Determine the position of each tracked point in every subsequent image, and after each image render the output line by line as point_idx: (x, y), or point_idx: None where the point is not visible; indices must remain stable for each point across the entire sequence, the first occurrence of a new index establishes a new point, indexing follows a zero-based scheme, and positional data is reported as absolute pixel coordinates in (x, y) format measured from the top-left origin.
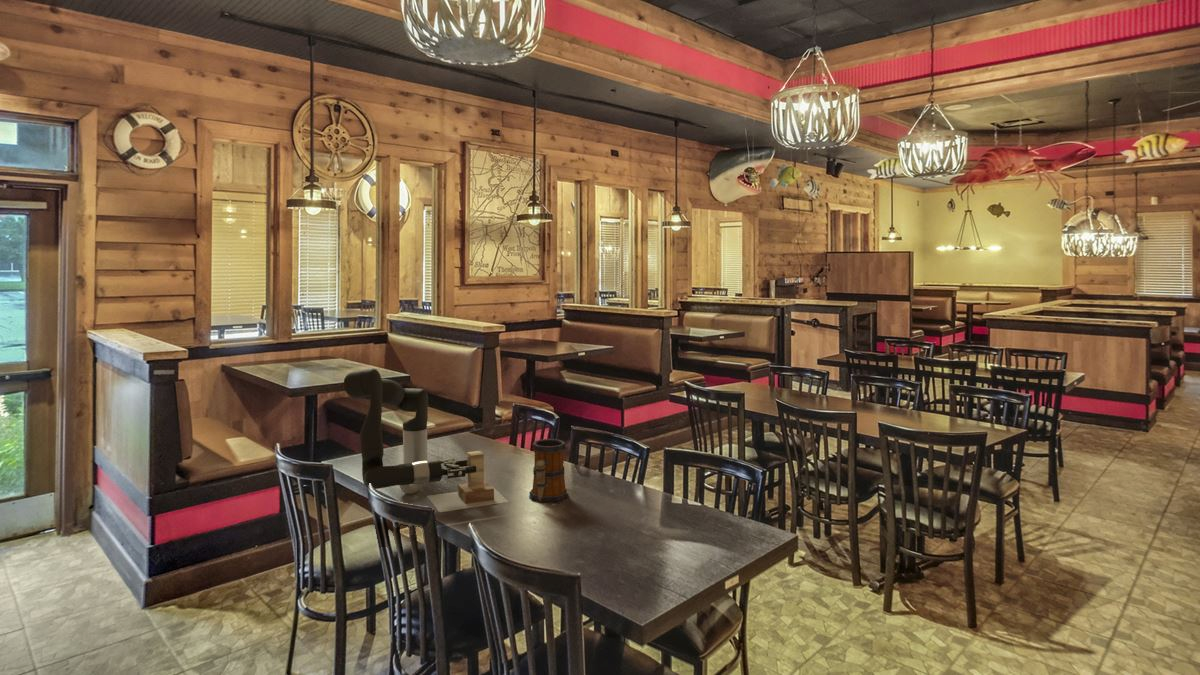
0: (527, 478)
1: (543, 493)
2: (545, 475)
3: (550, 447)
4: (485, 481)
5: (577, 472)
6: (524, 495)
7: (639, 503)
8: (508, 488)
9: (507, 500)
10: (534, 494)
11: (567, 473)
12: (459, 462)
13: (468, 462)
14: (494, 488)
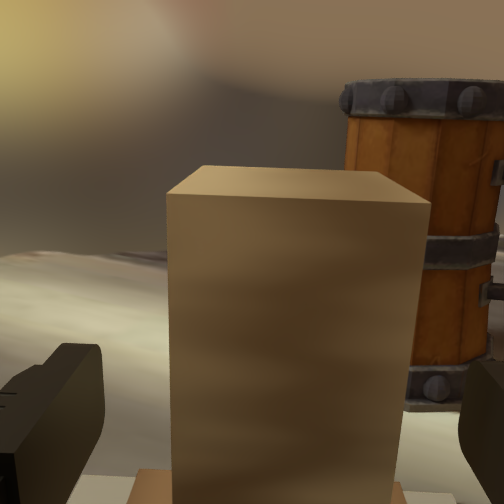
0: (89, 336)
1: (483, 340)
2: (496, 248)
3: None
4: (163, 474)
5: (159, 261)
6: None
7: (491, 264)
8: (163, 422)
9: (423, 492)
10: (449, 367)
11: (147, 272)
12: (22, 473)
13: (239, 370)
14: (128, 477)
